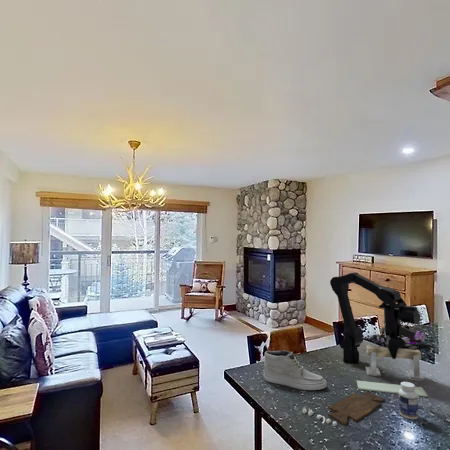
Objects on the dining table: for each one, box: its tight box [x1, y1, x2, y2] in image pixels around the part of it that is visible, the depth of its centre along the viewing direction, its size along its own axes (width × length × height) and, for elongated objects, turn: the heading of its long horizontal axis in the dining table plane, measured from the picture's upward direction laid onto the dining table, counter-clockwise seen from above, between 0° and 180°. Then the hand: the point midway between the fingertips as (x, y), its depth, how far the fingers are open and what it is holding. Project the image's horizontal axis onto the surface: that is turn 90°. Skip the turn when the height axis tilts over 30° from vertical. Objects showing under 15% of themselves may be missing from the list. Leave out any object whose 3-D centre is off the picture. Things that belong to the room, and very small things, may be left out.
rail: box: [366, 345, 422, 361], centre depth 137 cm, size 20×3×3 cm, turn 73°
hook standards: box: [365, 351, 426, 382], centre depth 137 cm, size 21×7×10 cm, turn 73°
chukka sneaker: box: [263, 349, 327, 391], centre depth 130 cm, size 9×25×12 cm, turn 67°
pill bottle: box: [398, 381, 419, 420], centre depth 105 cm, size 5×5×10 cm
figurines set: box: [302, 406, 338, 427], centre depth 103 cm, size 12×3×3 cm, turn 44°
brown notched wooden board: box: [328, 391, 386, 427], centre depth 110 cm, size 26×2×10 cm
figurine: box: [372, 330, 426, 350], centre depth 172 cm, size 24×7×29 cm
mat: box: [356, 380, 428, 398], centre depth 123 cm, size 23×7×1 cm, turn 73°
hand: (393, 357), depth 137 cm, fingers closed on rail, 3 cm apart
